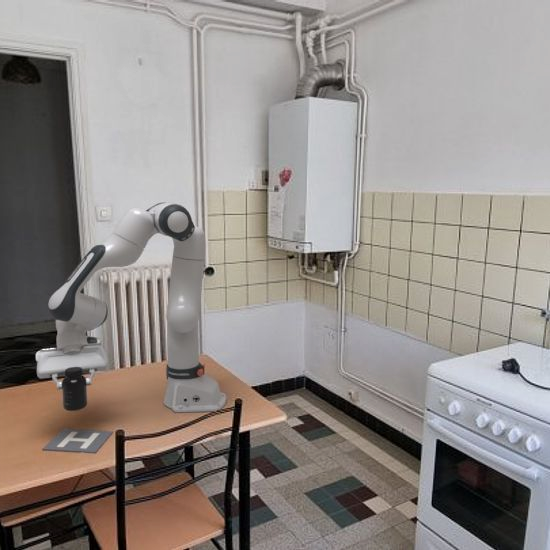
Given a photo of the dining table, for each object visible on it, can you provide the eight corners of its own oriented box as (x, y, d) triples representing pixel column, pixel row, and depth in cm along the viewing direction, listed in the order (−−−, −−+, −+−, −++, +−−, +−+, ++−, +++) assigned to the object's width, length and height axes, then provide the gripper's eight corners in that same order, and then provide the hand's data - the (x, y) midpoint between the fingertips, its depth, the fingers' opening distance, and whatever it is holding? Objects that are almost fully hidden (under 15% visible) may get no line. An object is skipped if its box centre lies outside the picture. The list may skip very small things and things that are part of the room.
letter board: (112, 432, 148) (112, 431, 148) (95, 453, 136) (95, 452, 136) (63, 429, 149) (63, 428, 149) (42, 450, 137) (42, 448, 137)
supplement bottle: (75, 400, 148) (74, 363, 146) (92, 404, 146) (91, 367, 144) (57, 408, 142) (56, 370, 140) (74, 413, 139) (73, 374, 137)
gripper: (34, 345, 143) (35, 387, 135) (105, 337, 151) (109, 377, 144) (36, 354, 147) (36, 396, 140) (105, 347, 156) (109, 385, 149)
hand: (74, 386), depth 142 cm, fingers closed on supplement bottle, 7 cm apart
